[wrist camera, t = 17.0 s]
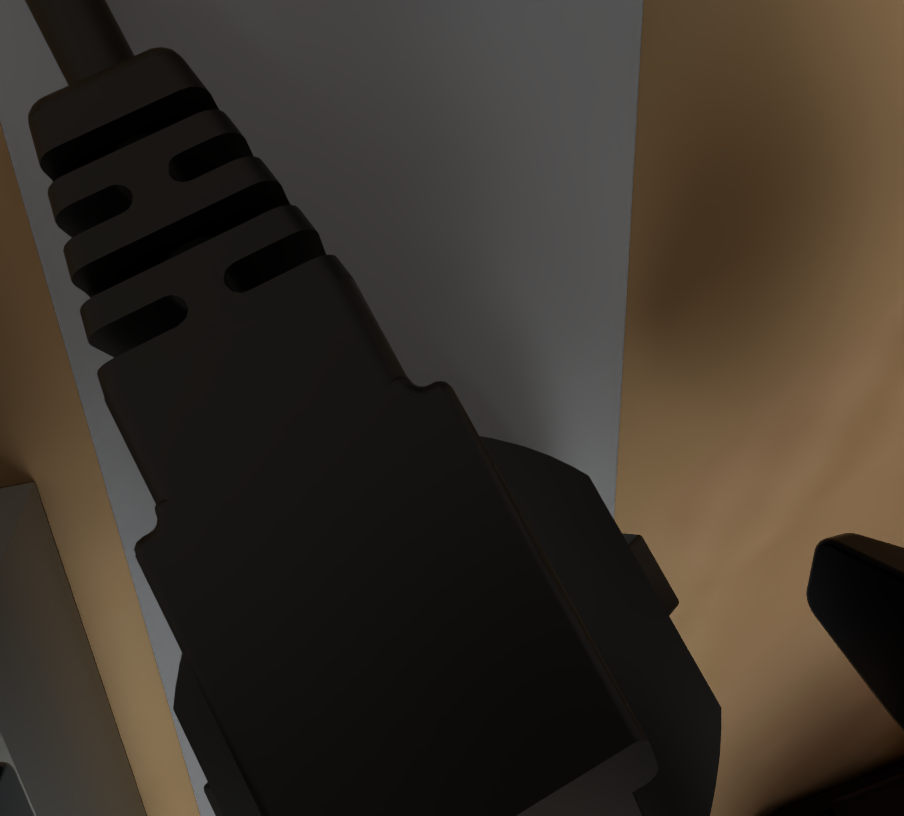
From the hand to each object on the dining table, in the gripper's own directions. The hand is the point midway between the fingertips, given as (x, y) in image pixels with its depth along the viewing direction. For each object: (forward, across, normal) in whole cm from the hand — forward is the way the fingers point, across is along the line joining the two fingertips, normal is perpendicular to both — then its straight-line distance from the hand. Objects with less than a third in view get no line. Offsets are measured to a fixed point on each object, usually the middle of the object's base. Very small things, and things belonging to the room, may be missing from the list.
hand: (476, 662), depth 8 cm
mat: (+5, 0, 0) cm, 5 cm away
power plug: (+4, +1, -2) cm, 5 cm away
